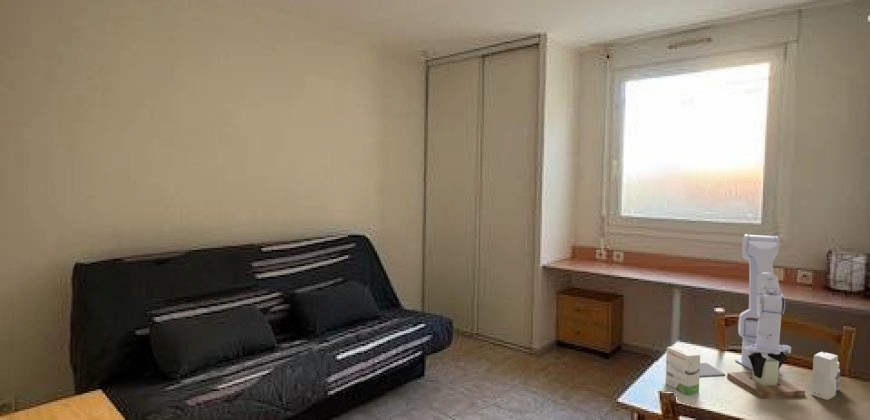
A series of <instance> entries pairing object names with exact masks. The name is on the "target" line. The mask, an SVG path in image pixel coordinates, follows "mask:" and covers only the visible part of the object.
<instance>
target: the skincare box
mask: <svg viewBox="0 0 870 420" xmlns="http://www.w3.org/2000/svg"><path fill="white" fill-rule="evenodd" d="M838 358H839V355H836V354H835V353H829V352H825V351H820V352H818V353H815V354H814V355H813V359H812V360H813V361H812V374H811V375H812V378H811V390H810V391H811V392H810V394H811V395H812V396H814V397H816V398H819V399H824V400H826V401H828V400H831V399H832V398H834V397H836V394H837V390H836V381H837V364H838V362H839V361H838Z"/></svg>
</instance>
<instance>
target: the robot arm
mask: <svg viewBox="0 0 870 420" xmlns="http://www.w3.org/2000/svg"><path fill="white" fill-rule="evenodd" d="M741 242H742V243H741V244H742V246H741V248H742V251H741V253H742V254H741V255H742V259H744V260H746V261H747V262H748V266H749V271H748V274H749V277H748V278H749V279H748V280H749V281H748V282H749V283H748V285H749V286H748V309H746V310H744V311H742V312H740V313H739V315H738V323H737V332H738V335H739V336H740V337H741V338H742V343H741V345H742V346H741V358H734V361H736V363H739V364H741V365H742V366H744V367H745V368H748V369H750V370H752V371H753V372H754V376H756V377H758V378H761V377H762V372H763V366H764V363H765V361H766V358H764V357H762V356H765V355H767V356H769V357H771V358H774V359H776V360H778V361H779V370H778V372H779V371H780V369H781V367H782V366H783V364H784V362H786V361H787V360H788V356H787V355H786V354H792V347H791V346H790V345H787V344H780V337H781V325H782V324H781V323H782V315H784V313H785V310H786V300H785V296H784V294H783V292H782V291H781V289H780V288H781V287H780V281H779V277H778V275H776V274H774V265H773V264H774V261H775V258H776V257H777V255H778V254H779V251H780V246H781V245H780V243H781V241H780V238H779V236H777V235H760V234H759V235H757V234H747V233H745V234H744V235H743V236H742V241H741ZM785 353H786V354H785Z"/></svg>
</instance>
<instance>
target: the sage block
mask: <svg viewBox="0 0 870 420" xmlns="http://www.w3.org/2000/svg"><path fill="white" fill-rule="evenodd" d="M762 357H764V358H766V361H765V363H764V366H763V372H762V377H761V378H758V377H756V376H754V372H753V377H752V380H753V381H755V382H757V383H758V384H760V385H762V386H777V382H778V377H779V371H780V369H779V361H778V360H776V359H774V358H771V357H769V356H767V355H765V356H762ZM778 370H779V371H778Z"/></svg>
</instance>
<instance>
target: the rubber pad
mask: <svg viewBox="0 0 870 420" xmlns="http://www.w3.org/2000/svg"><path fill="white" fill-rule="evenodd" d="M723 376H726V373H724V372H723V371H721V370H719V369H717V368H716V367H714V366H712V365H711V364H709V363H707V362H700V374H699V378H703V377H723Z"/></svg>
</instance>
